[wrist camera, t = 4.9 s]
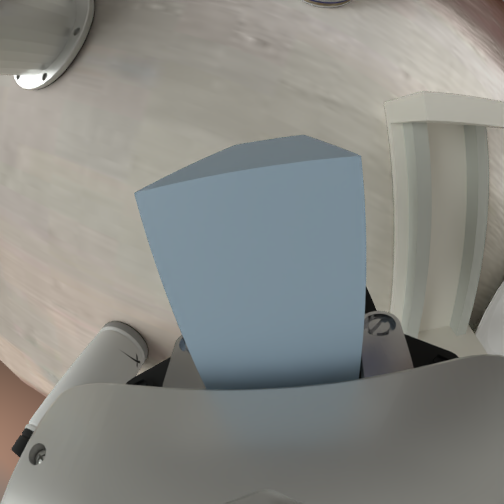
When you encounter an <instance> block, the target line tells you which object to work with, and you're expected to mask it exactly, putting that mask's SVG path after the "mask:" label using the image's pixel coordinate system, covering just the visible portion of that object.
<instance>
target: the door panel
mask: <svg viewBox="0 0 504 504" xmlns="http://www.w3.org/2000/svg"><path fill="white" fill-rule="evenodd" d="M134 194H135V198H136V201H137V205H138V209H139V212H140V216H141V219H142V222H143V226H144V229H145V232H146V235H147V239H148V242H149V245H150V248H151V251H152V254H153V257H154V260H155V263H156V266H157V269H158V272H159V275H160V278H161V281H162V283H163V286H164V289H165V292H166V294H167V297H168V300H169V302H170V305H171V308H172V310H173V313H174V315H175V318H176V321H177V323H178V326H179V328H180V330H181V333H182V335H183V338H184V340H185V343H186V345H187V347H188V350H189V352H190V354H191V357H192V359H193V361H194V363H195V366H196V368H197V370H198V372H199V375H200V377H201V379H202V381H203V383H204V385H205V387H206V389H261V388H280V387H294V386H305V385H315V384H324V383H333V382H340V381H348V380H354V379H359V372H360V364H361V354H362V343H363V331H364V316H365V296H366V219H365V199H364V184H363V172H362V161H361V156H360V155H358V154H355V153H353V152H350V151H348V150H345V149H342V148H340V147H337V146H334V145H332V144H329V143H326V142H323V141H321V140H318V139H315V138H312V137H309V136H306V135H298V136H290V137H282V138H275V139H269V140H262V141H256V142H250V143H244V144H239V145H234V146H232V147H229V148H227V149H224V150H222V151H220V152H217V153H215V154H213V155H211V156H208V157H206V158H204V159H202V160H200V161H197V162H195V163H193V164H191V165H189V166H187V167H184V168H182V169H180V170H178V171H176V172H174V173H172V174H170V175H168V176H166V177H164V178H162V179H160V180H158V181H156V182H154V183H152V184H150V185H148V186H146V187H144V188H143V189H141V190H139V191H137V192H135V193H134Z"/></svg>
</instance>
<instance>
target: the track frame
mask: <svg viewBox="0 0 504 504" xmlns="http://www.w3.org/2000/svg"><path fill="white" fill-rule="evenodd" d="M384 108H385V114H386V121H387V128H388V136H389V144H390V154H391V165H392V178H393V196H394V266H393V284H392V298H391V309H390V313H391V314H394V315H395V316H396V317H397V318H398V319H399V321H400V323H401V326H402V329H403V333H404V334H406V335H409V336H411V337H414V338H417V339H419V340H422V341H424V342H427V343H430V344H432V345H435V346H437V347H440V348H443V349H445V350H448V351H451V352H452V353H454V354H456V355H457V356H458V357H459V358H460V357H466V356H471V355H482V354H487V352H486V351H485V349H484V347H483V346H482V344H481V343H480V341H479V340H478V338H477V337H476V335H475V334H474V332H473V331H472V329H471V328H470V326H469V325H468V324H469V320H470V317H471V313H472V309H473V305H474V301H475V296H476V292H477V287H478V282H479V277H480V272H481V266H482V260H483V253H484V246H485V238H486V228H487V217H488V199H489V157H488V140H487V129H486V127H494V128H504V102H501V101H496V100H491V99H486V98H480V97H473V96H466V95H459V94H450V93H440V92H428V91H422V92H418V93H414V94H411V95H408V96H404V97H401V98H397V99H394V100H391V101H388V102H385V103H384Z"/></svg>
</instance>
